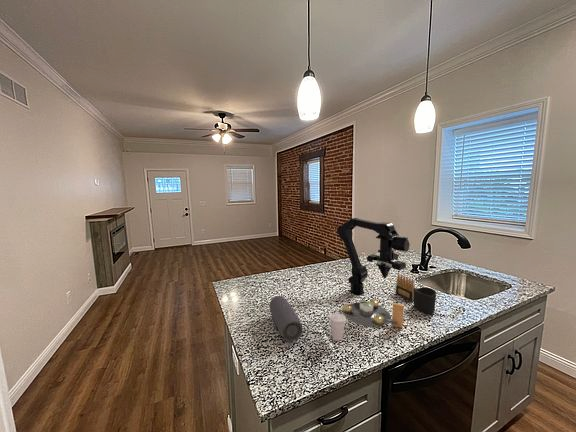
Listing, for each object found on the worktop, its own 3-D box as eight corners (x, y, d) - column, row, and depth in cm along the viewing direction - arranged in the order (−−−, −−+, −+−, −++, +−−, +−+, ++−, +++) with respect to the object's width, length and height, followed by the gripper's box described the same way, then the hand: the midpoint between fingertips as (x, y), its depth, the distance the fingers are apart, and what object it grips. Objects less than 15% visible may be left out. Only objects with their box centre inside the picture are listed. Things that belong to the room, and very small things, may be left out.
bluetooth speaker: (304, 342, 95) (304, 318, 94) (281, 347, 93) (280, 322, 91) (287, 313, 117) (287, 293, 116) (268, 316, 114) (268, 296, 113)
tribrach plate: (333, 313, 116) (333, 300, 115) (362, 300, 128) (362, 289, 127) (371, 334, 99) (371, 320, 98) (400, 318, 111) (401, 305, 110)
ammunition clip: (414, 301, 127) (415, 278, 126) (411, 301, 126) (413, 279, 125) (397, 293, 137) (398, 272, 135) (395, 293, 136) (396, 272, 135)
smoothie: (327, 335, 99) (327, 302, 97) (342, 334, 99) (343, 302, 98) (331, 346, 93) (331, 311, 91) (348, 345, 93) (348, 310, 91)
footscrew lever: (372, 323, 104) (373, 302, 103) (373, 319, 108) (374, 298, 107) (402, 330, 100) (403, 307, 98) (402, 325, 103) (403, 303, 102)
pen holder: (434, 317, 111) (436, 296, 110) (411, 312, 116) (412, 292, 115) (435, 308, 119) (436, 289, 118) (413, 304, 124) (414, 285, 123)
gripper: (412, 249, 120) (411, 280, 121) (379, 242, 135) (378, 269, 137) (400, 253, 113) (398, 285, 115) (366, 245, 129) (365, 274, 130)
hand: (384, 278), depth 125 cm, fingers closed
